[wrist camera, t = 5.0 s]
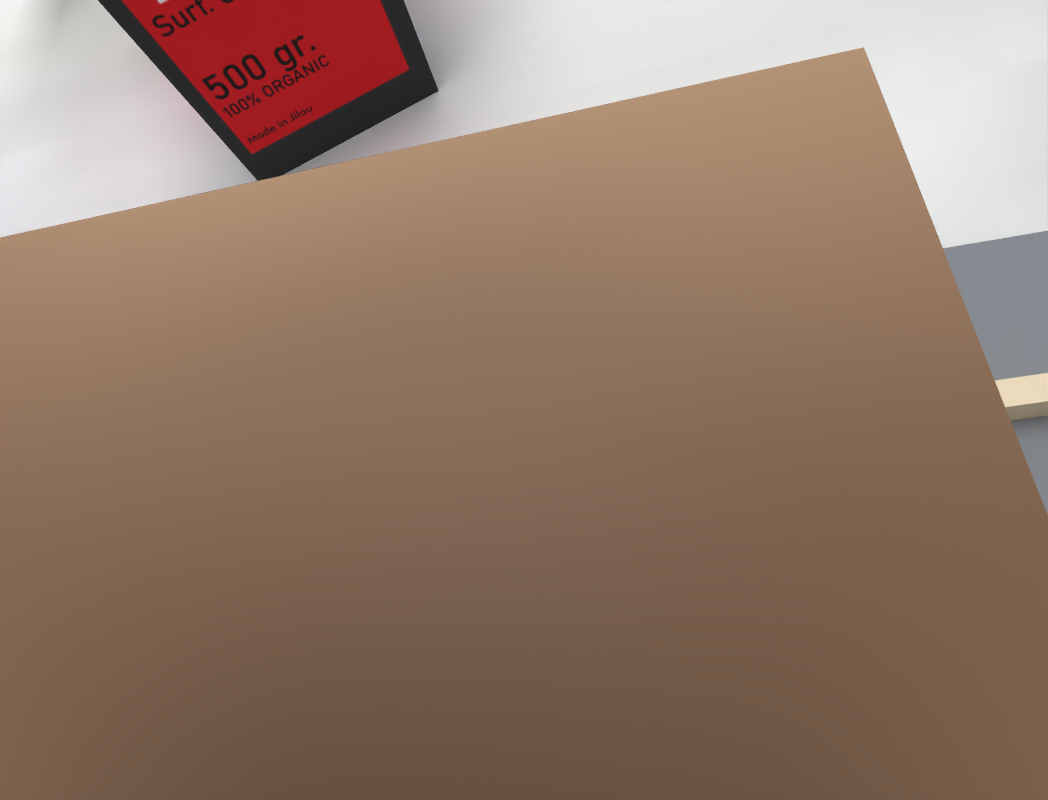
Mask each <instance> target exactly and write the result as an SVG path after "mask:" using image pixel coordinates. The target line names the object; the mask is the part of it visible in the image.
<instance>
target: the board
mask: <svg viewBox="0 0 1048 800" xmlns="http://www.w3.org/2000/svg"><path fill="white" fill-rule="evenodd" d="M943 250H944V253H945V255H946V258H947V260H948V263H949V266H950V268H951V271H952V273H953V276H954V278H955V281H956V283H957V286H958V288H959V291H960V294H961V296H962V299H963V301H964V304H965V306H966V309H967V311H968V314H969V316H970V319H971V322H972V324H973V327H974V329H975V332H976V334H977V337H978V339H979V342H980V344H981V347H982V349H983V352H984V355H985V357H986V360H987V362H988V365H989V367H990V370H991V372H992V375H993V377H994V380H995V383H996V385H997V388H998V390H999V393H1000V395H1001V398H1002V400H1003V403H1004V405H1005V408H1006V411H1007V413H1008V416H1009V418H1010V421H1011V423H1012V426H1013V428H1014V431H1015V433H1016V436H1017V438H1018V441H1019V444H1020V446H1021V449H1022V451H1023V454H1024V456H1025V459H1026V461H1027V464H1028V466H1029V469H1030V472H1031V474H1032V477H1033V479H1034V482H1035V484H1036V487H1037V489H1038V492H1039V494H1040V497H1041V499H1042V502H1043V505H1044V507H1045V510H1046V512H1047V515H1048V231H1044V232H1038V233H1032V234H1026V235H1020V236H1014V237H1009V238H1003V239H997V240H991V241H985V242H979V243H973V244H967V245H961V246H956V247H950V248H944V249H943Z"/></svg>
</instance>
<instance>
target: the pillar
mask: <svg viewBox="0 0 1048 800" xmlns="http://www.w3.org/2000/svg"><path fill="white" fill-rule="evenodd" d="M0 800H1048V515H1047V512H1046V510H1045V507H1044V505H1043V502H1042V499H1041V497H1040V494H1039V492H1038V489H1037V487H1036V484H1035V482H1034V479H1033V477H1032V474H1031V472H1030V469H1029V466H1028V464H1027V461H1026V459H1025V456H1024V454H1023V451H1022V449H1021V446H1020V444H1019V441H1018V438H1017V436H1016V433H1015V431H1014V428H1013V426H1012V423H1011V421H1010V418H1009V416H1008V413H1007V411H1006V408H1005V405H1004V403H1003V400H1002V398H1001V395H1000V393H999V390H998V388H997V385H996V383H995V380H994V377H993V375H992V372H991V370H990V367H989V365H988V362H987V360H986V357H985V355H984V352H983V349H982V347H981V344H980V342H979V339H978V337H977V334H976V332H975V329H974V327H973V324H972V322H971V319H970V316H969V314H968V311H967V309H966V306H965V304H964V301H963V299H962V296H961V294H960V291H959V288H958V286H957V283H956V281H955V278H954V276H953V273H952V271H951V268H950V266H949V263H948V260H947V258H946V255H945V253H944V250H943V248H942V245H941V243H940V240H939V238H938V235H937V233H936V230H935V227H934V225H933V222H932V220H931V217H930V215H929V212H928V210H927V207H926V205H925V202H924V199H923V197H922V194H921V192H920V189H919V187H918V184H917V182H916V179H915V177H914V174H913V171H912V169H911V166H910V164H909V161H908V159H907V156H906V154H905V151H904V149H903V146H902V144H901V141H900V138H899V136H898V133H897V131H896V128H895V126H894V123H893V121H892V118H891V116H890V113H889V110H888V108H887V105H886V103H885V100H884V98H883V95H882V93H881V90H880V88H879V85H878V82H877V80H876V77H875V75H874V72H873V70H872V67H871V65H870V62H869V60H868V57H867V55H866V52H865V49H864V48H859V49H855V50H850V51H846V52H841V53H837V54H832V55H828V56H823V57H819V58H814V59H809V60H805V61H800V62H796V63H791V64H787V65H782V66H778V67H773V68H769V69H764V70H759V71H755V72H750V73H746V74H741V75H737V76H732V77H728V78H723V79H719V80H714V81H710V82H705V83H700V84H696V85H691V86H687V87H682V88H678V89H673V90H669V91H664V92H660V93H655V94H650V95H646V96H641V97H637V98H632V99H628V100H623V101H619V102H614V103H610V104H605V105H601V106H596V107H591V108H587V109H582V110H578V111H573V112H569V113H564V114H560V115H555V116H551V117H546V118H542V119H537V120H532V121H528V122H523V123H519V124H514V125H510V126H505V127H501V128H496V129H492V130H487V131H482V132H478V133H473V134H469V135H464V136H460V137H455V138H451V139H446V140H442V141H437V142H433V143H428V144H423V145H419V146H414V147H410V148H405V149H401V150H396V151H392V152H387V153H383V154H378V155H374V156H369V157H364V158H360V159H355V160H351V161H346V162H342V163H337V164H333V165H328V166H324V167H319V168H314V169H310V170H305V171H301V172H296V173H292V174H287V175H283V176H278V177H274V178H269V179H265V180H260V181H255V182H251V183H246V184H242V185H237V186H233V187H228V188H224V189H219V190H215V191H210V192H205V193H201V194H196V195H192V196H187V197H183V198H178V199H174V200H169V201H165V202H160V203H156V204H151V205H146V206H142V207H137V208H133V209H128V210H124V211H119V212H115V213H110V214H106V215H101V216H97V217H92V218H87V219H83V220H78V221H74V222H69V223H65V224H60V225H56V226H51V227H47V228H42V229H37V230H33V231H28V232H24V233H19V234H15V235H10V236H6V237H1V238H0Z"/></svg>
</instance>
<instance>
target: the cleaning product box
mask: <svg viewBox="0 0 1048 800" xmlns="http://www.w3.org/2000/svg"><path fill="white" fill-rule="evenodd" d="M98 1H99V2H100V3H101V4H102V5H103V6H104V8H105V9H106V10H107V11H108V12H109V13H110V14H111V16H112V17H113V18H114V19H115V20H116V21H117V22H118V23H119V25H120V26H121V27H122V28H123V29H124V30H125V31H126V32H127V34H128V35H129V36H130V37H131V38H132V39H133V40H134V41H135V43H136V44H137V45H138V46H139V47H140V48H141V49H142V50H143V52H144V53H145V54H146V55H147V56H148V57H149V58H150V60H151V61H152V62H153V63H154V64H155V65H156V66H157V67H158V69H159V70H160V71H161V72H162V73H163V74H164V75H165V76H166V78H167V79H168V80H169V81H170V82H171V83H172V84H173V85H174V87H175V88H176V89H177V90H178V91H179V92H180V93H181V94H182V96H183V97H184V98H185V99H186V100H187V101H188V102H189V103H190V105H191V106H192V107H193V108H194V109H195V110H196V111H197V113H198V114H199V115H200V116H201V117H202V118H203V119H204V120H205V122H206V123H207V124H208V125H209V126H210V127H211V128H212V129H213V131H214V132H215V133H216V134H217V135H218V136H219V137H220V138H221V140H222V141H223V142H224V143H225V144H226V145H227V146H228V147H229V149H230V150H231V151H232V152H233V153H234V154H235V155H236V157H237V158H238V159H239V160H240V161H241V162H242V163H243V164H244V166H245V167H246V168H247V169H248V170H249V171H250V172H251V173H252V175H253V176H254V177H255V178H256V179H257V180H258V181H260V180H265V179H269V178H274V177H278V176H281V175H283V174H285V173H287V172H289V171H291V170H292V169H294V168H296V167H298V166H300V165H302V164H304V163H305V162H307V161H309V160H311V159H313V158H315V157H317V156H318V155H320V154H322V153H324V152H326V151H328V150H330V149H331V148H333V147H335V146H337V145H339V144H341V143H343V142H344V141H346V140H348V139H350V138H352V137H354V136H356V135H357V134H359V133H361V132H363V131H365V130H367V129H369V128H370V127H372V126H374V125H376V124H378V123H380V122H382V121H383V120H385V119H387V118H389V117H391V116H393V115H394V114H396V113H398V112H400V111H402V110H404V109H406V108H407V107H409V106H411V105H413V104H415V103H417V102H419V101H420V100H422V99H424V98H426V97H428V96H430V95H432V94H433V93H435V92H437V91H438V89H437V86H436V83H435V81H434V78H433V76H432V73H431V70H430V68H429V65H428V63H427V60H426V57H425V55H424V52H423V50H422V47H421V44H420V42H419V39H418V37H417V34H416V31H415V29H414V26H413V24H412V21H411V18H410V16H409V13H408V11H407V8H406V5H405V3H404V0H98Z"/></svg>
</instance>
